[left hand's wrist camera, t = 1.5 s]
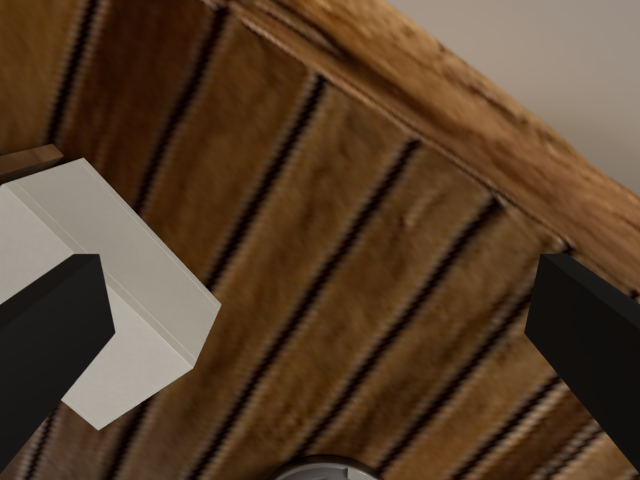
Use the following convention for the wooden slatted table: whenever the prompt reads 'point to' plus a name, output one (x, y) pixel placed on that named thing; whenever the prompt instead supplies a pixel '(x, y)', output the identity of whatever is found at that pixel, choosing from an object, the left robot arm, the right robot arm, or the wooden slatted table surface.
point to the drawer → (27, 162)
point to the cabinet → (107, 283)
